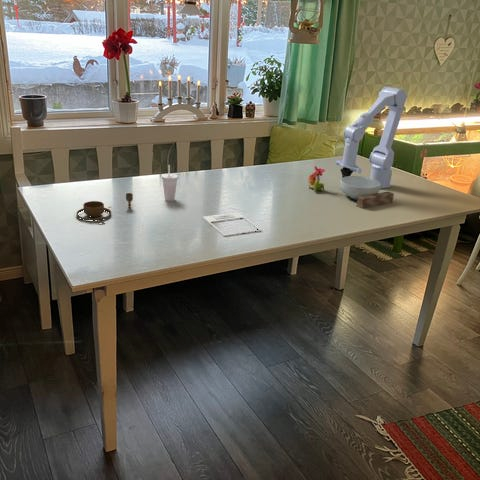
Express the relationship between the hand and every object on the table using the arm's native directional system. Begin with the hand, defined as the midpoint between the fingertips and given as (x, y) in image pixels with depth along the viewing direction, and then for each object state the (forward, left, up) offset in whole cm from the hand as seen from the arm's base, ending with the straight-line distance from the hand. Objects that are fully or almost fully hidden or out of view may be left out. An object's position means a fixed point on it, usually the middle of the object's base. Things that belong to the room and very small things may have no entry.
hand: (345, 184), depth 223 cm
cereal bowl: (0, +9, -3) cm, 9 cm away
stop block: (0, +18, -3) cm, 19 cm away
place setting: (+104, -12, -4) cm, 105 cm away
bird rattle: (+12, -7, -3) cm, 14 cm away
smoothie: (+76, -19, -3) cm, 78 cm away
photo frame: (+67, +13, -4) cm, 69 cm away
